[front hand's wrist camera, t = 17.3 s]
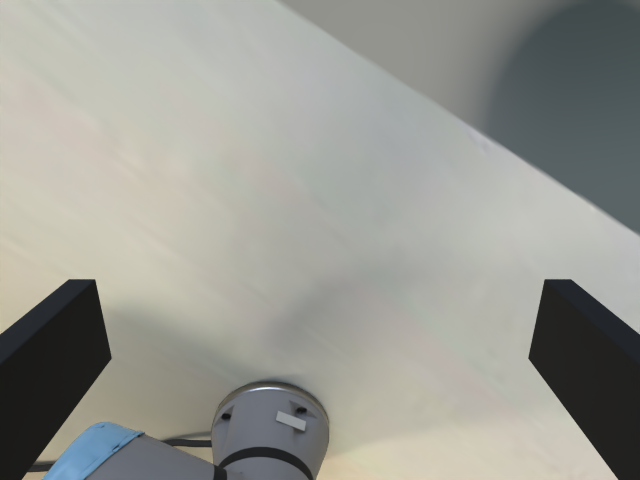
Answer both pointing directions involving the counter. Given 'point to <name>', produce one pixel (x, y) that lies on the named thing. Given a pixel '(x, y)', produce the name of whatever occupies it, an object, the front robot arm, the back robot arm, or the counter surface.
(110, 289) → the counter surface
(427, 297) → the counter surface
